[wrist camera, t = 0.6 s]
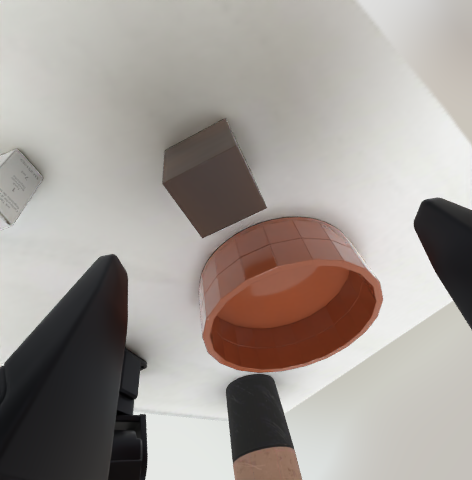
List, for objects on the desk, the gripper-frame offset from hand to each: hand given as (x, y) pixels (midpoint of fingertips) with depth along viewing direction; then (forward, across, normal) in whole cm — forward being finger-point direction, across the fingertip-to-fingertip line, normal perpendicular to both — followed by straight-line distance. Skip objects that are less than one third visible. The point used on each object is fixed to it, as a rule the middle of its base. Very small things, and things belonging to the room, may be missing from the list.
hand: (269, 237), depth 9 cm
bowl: (+11, -2, +17) cm, 21 cm away
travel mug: (+10, +3, +39) cm, 40 cm away
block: (+12, +2, +4) cm, 13 cm away
